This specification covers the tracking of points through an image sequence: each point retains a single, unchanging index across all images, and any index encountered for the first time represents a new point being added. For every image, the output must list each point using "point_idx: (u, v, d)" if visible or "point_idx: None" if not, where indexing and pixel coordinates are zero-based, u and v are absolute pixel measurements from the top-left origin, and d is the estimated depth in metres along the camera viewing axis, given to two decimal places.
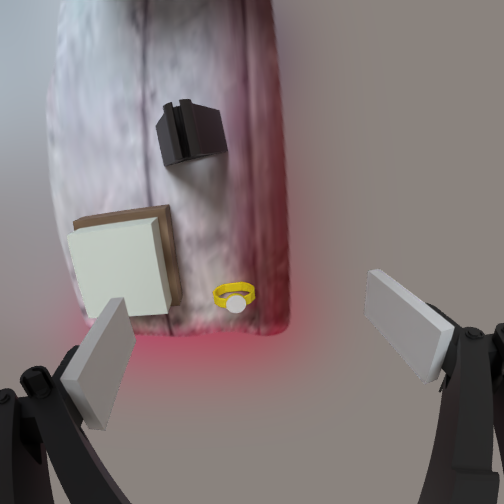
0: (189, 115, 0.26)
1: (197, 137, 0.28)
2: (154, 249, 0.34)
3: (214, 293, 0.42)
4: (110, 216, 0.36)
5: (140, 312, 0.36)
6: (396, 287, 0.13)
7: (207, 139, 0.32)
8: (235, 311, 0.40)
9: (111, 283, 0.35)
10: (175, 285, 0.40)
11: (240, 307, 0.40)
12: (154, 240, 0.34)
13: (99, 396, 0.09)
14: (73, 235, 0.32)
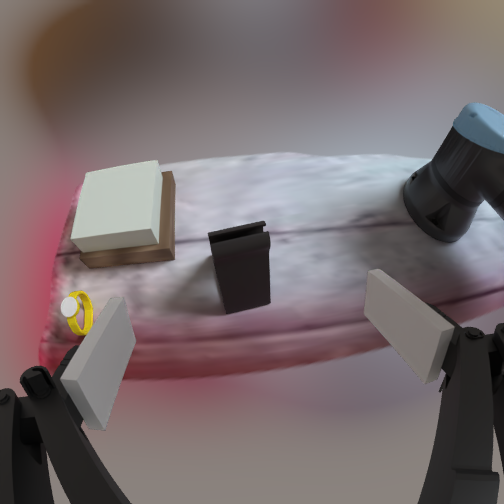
0: (252, 241, 0.30)
1: (230, 252, 0.30)
2: (127, 230, 0.35)
3: (84, 292, 0.35)
4: (169, 201, 0.42)
5: (77, 215, 0.36)
6: (396, 287, 0.13)
7: (232, 277, 0.33)
8: (62, 305, 0.31)
9: (108, 193, 0.37)
10: (97, 255, 0.37)
11: (65, 310, 0.31)
12: (135, 232, 0.35)
13: (99, 396, 0.09)
14: (155, 165, 0.40)
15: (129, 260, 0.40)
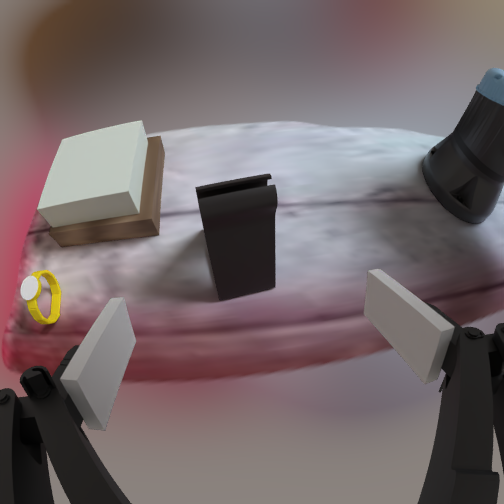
0: (253, 197, 0.22)
1: (223, 211, 0.22)
2: (100, 195, 0.27)
3: (50, 273, 0.28)
4: (155, 167, 0.34)
5: (48, 183, 0.28)
6: (396, 287, 0.13)
7: (227, 249, 0.26)
8: (22, 286, 0.24)
9: (83, 157, 0.30)
10: (68, 229, 0.30)
11: (25, 292, 0.24)
12: (110, 197, 0.27)
13: (99, 396, 0.09)
14: (139, 125, 0.32)
15: (105, 235, 0.32)
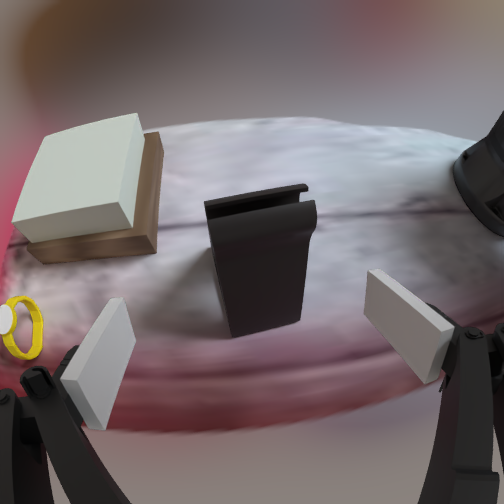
0: (285, 217, 0.16)
1: (244, 236, 0.16)
2: (84, 206, 0.21)
3: (29, 299, 0.22)
4: (152, 169, 0.28)
5: (24, 190, 0.22)
6: (396, 287, 0.13)
7: (245, 282, 0.19)
8: None
9: (66, 158, 0.24)
10: (48, 245, 0.24)
11: None
12: (96, 209, 0.21)
13: (99, 396, 0.09)
14: (134, 118, 0.26)
15: (91, 253, 0.26)
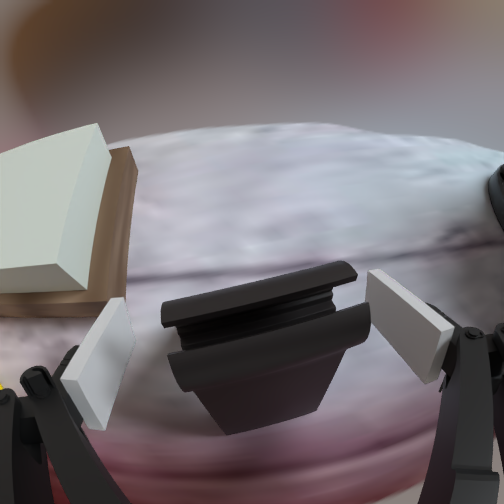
0: (316, 341, 0.08)
1: (238, 376, 0.08)
2: (18, 266, 0.13)
3: None
4: (117, 201, 0.20)
5: None
6: (396, 287, 0.13)
7: (242, 401, 0.12)
8: None
9: (8, 188, 0.16)
10: None
11: None
12: (33, 269, 0.14)
13: (99, 396, 0.09)
14: (92, 132, 0.18)
15: (47, 313, 0.18)
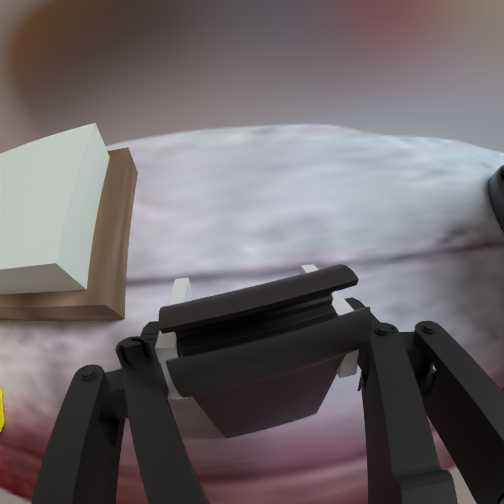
0: (316, 347, 0.08)
1: (238, 382, 0.08)
2: (17, 266, 0.13)
3: None
4: (115, 203, 0.20)
5: None
6: None
7: (241, 405, 0.11)
8: None
9: (7, 189, 0.16)
10: None
11: None
12: (32, 269, 0.14)
13: None
14: (90, 132, 0.18)
15: (46, 316, 0.18)
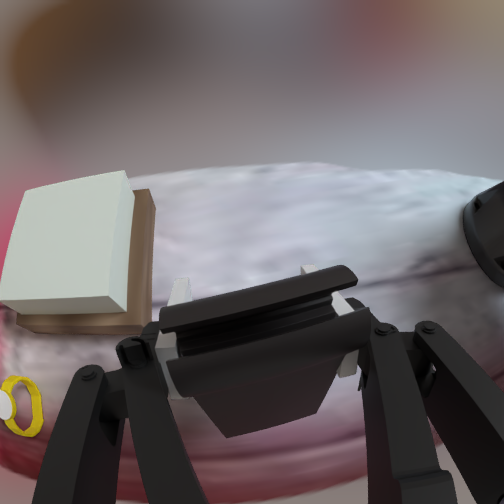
0: (316, 347, 0.08)
1: (237, 382, 0.08)
2: (72, 296, 0.19)
3: (24, 378, 0.19)
4: (143, 240, 0.26)
5: (7, 261, 0.19)
6: None
7: (241, 405, 0.11)
8: None
9: (48, 226, 0.21)
10: (38, 323, 0.21)
11: None
12: (85, 299, 0.19)
13: None
14: (121, 179, 0.24)
15: (84, 331, 0.23)
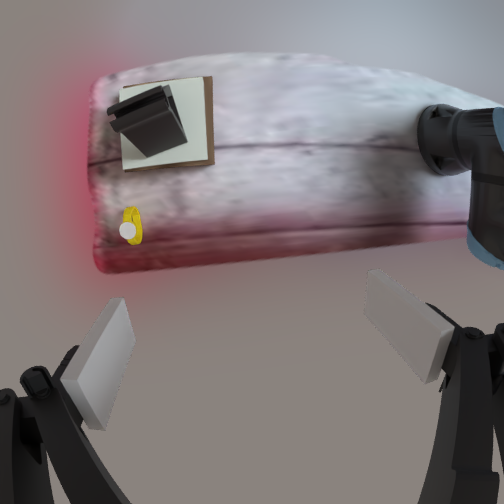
0: (149, 111, 0.25)
1: (130, 124, 0.26)
2: (183, 160, 0.38)
3: (133, 207, 0.43)
4: (212, 113, 0.40)
5: (124, 143, 0.36)
6: (396, 287, 0.13)
7: (141, 135, 0.30)
8: (121, 230, 0.41)
9: None
10: (143, 169, 0.41)
11: (125, 234, 0.42)
12: (191, 160, 0.38)
13: (99, 396, 0.09)
14: (202, 83, 0.35)
15: None
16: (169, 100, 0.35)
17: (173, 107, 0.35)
